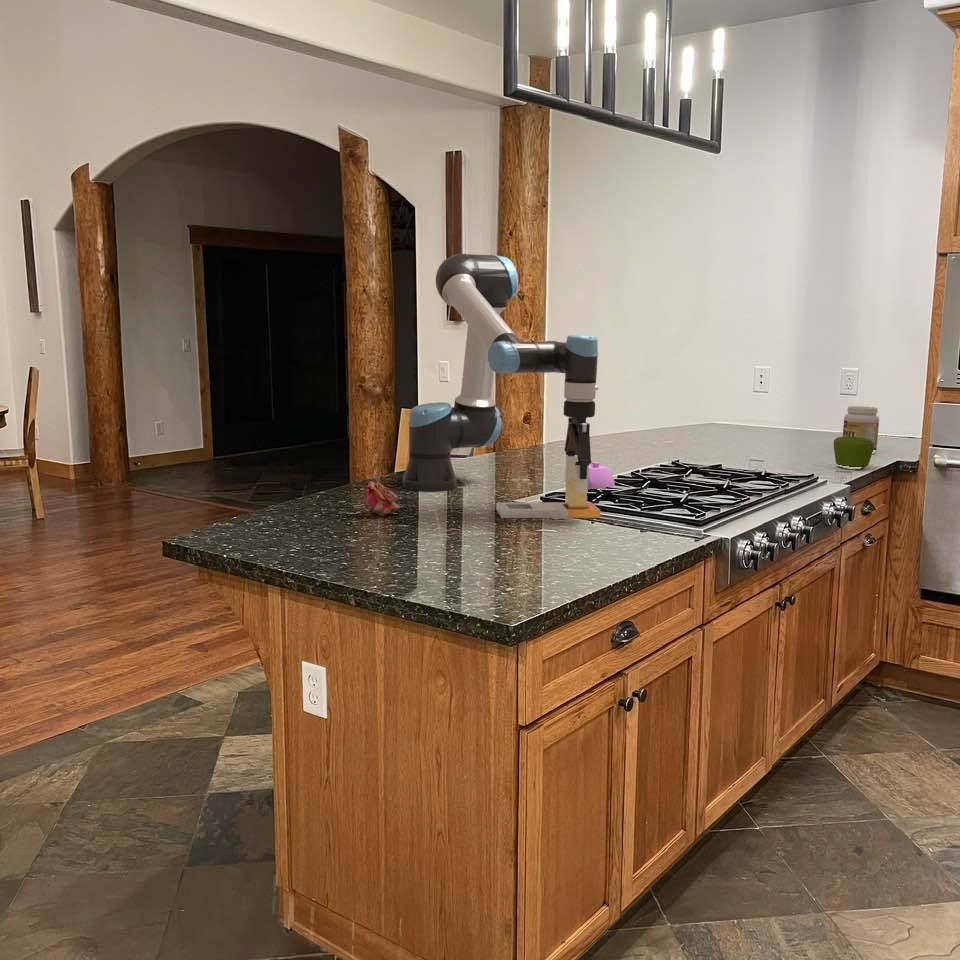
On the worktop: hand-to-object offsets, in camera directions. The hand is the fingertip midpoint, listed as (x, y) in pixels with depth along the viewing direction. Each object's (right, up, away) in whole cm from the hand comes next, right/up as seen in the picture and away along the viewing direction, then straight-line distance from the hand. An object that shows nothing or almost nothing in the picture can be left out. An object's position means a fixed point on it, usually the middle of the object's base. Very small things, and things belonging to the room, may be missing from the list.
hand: (576, 487), depth 238 cm
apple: (+100, +5, +86) cm, 132 cm away
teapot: (+7, -3, +28) cm, 29 cm away
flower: (-47, -7, -2) cm, 47 cm away
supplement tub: (+117, +12, +125) cm, 172 cm away
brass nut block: (0, -6, +1) cm, 7 cm away
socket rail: (-7, -7, 0) cm, 10 cm away
